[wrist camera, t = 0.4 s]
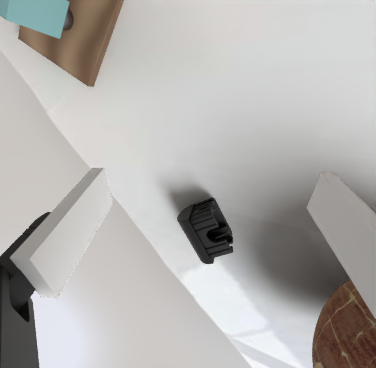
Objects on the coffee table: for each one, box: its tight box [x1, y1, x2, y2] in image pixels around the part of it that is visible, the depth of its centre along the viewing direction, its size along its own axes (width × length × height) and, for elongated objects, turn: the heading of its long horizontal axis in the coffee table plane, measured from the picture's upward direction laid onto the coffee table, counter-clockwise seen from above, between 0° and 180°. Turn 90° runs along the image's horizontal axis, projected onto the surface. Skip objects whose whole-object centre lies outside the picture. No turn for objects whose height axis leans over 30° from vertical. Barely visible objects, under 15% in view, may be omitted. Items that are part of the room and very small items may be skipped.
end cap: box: [177, 198, 233, 264], centre depth 39 cm, size 10×7×7 cm
